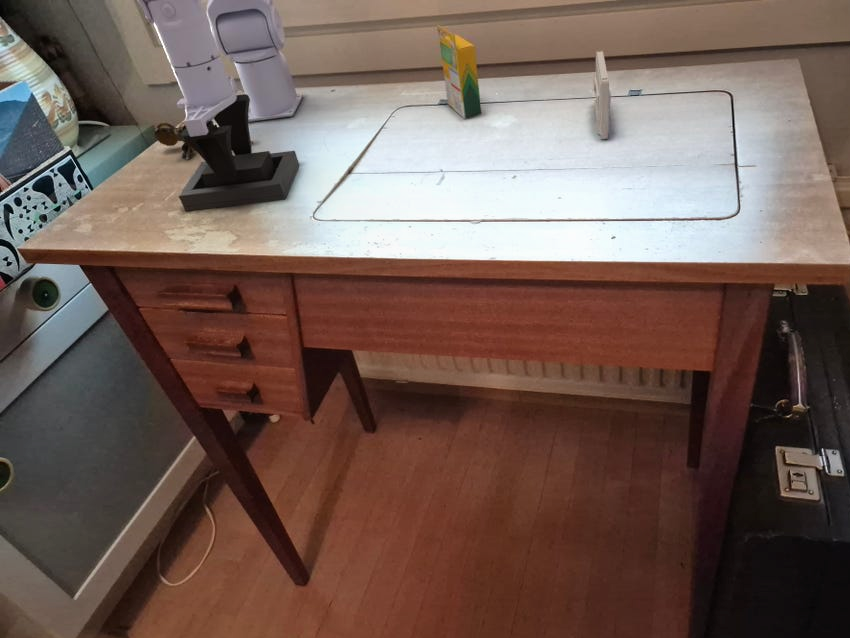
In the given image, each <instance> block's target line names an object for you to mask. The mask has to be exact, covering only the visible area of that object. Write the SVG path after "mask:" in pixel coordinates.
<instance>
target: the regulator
mask: <svg viewBox="0 0 850 638" xmlns="http://www.w3.org/2000/svg"><path fill="white" fill-rule="evenodd" d="M185 129H186V125H185V123H184V121H182V122H180V124H179V125H178V127H176V126H174V125H172V124H170V123H167V122H163V123H159V124H158V125H156V127H155V132H153V134H154V138H155V139H156V140H157V142H158V143H160V144H162V145H164V146H168V147H173V146H176V144H178V142H182V143H183V144H182V146H181V151H182V154H181V159H183V160H186V161H187V160H190V159H191V157H190V156H191V155H193V154H194V153H195V150H194V149H193V148H192V147H191V146H189V145H188V144H187V143H185V142H184V140H183V138H182V135H181V134H182V132H183V131H184V130H185ZM251 145H254V141H253V140H251Z"/></svg>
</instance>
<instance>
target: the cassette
mask: <svg viewBox="0 0 850 638" xmlns="http://www.w3.org/2000/svg"><path fill="white" fill-rule="evenodd" d="M595 52H596V53H595V73H594V74H593V91H594V96H595V99H594V110H593V111H594V117H595V118H594V119H595V125H596V126H595V127H596V133H597V135H598V136H600V140H608V139H609V135H610V134H611V133H610V114H609V113H610V111H611V103H612V94H611V93H612V92H611V91H610V80H609V76H608V71H607V65H606V59H605V55H604V50H603V49H602V50H596V51H595Z"/></svg>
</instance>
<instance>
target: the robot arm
mask: <svg viewBox="0 0 850 638" xmlns="http://www.w3.org/2000/svg"><path fill="white" fill-rule="evenodd" d="M136 1H137V3H138V4H139V6H140V8H141V9H142V11H143V13H144V16H145V18H146V20H147V21H148V23H150V24H153V25H154V28H155V30H156V32H157V36H158V37H159V40H160V42H161V45H162V47H163V50H164V53H165V54H166V57H167V60H168V62H169V65H170V66H171V67H170V68H171V69H172V71H173V74H174V76H175V79H176V81H177V83H178V86H179V89H180V92H181V93H182V95H183V97H182V98H180V99H179V100H178V101H177V102H176V106H177V108H178V109H180V110H185V119H183V122H184V123H185V125H186V129H185V130H184V131H183V132H182V134H181V135H182V138H183V140H184V142H185V143H187V144H188V145H189V146H191V147H192V148H193V149H194V152H196V153H197V154H198V155H199V156H200V157H201V158H202V160H204V162H206V163H207V164H208V165H209V167H210V168H211V170H212V171H213V172H214V174H215V175H216V176H217V178H218V179H219V180H220V182H221V183H222V182H230V181H236V180H237V170H236V166H235V162H234V158H233V154H234V155H241V154H249V153H253V152H252V151H253V150H252V149H253V148H252V143H251V141H252V140H251V134H250V126H249V123H250V122H257V121H265V120H273V119H280V118H289V117H293V116H294V114H295V113H296V110H297V108H298V106H299V105H300V102H301V101H302V98H303V97H304V95H303V93H302V92H301V93H300V92H299V93H297V90H296V88H295V84H294V80H293V77H292V74H291V70H290V66H289V63H288V60H287V58H286V56H285V55H284V54H283V52H281V50H282V49H283V48H284V45H285V43H286V36H285V30H284V26H283V22H282V18H281V16H280V13H279V11H278V9H277V7H276V4H275V2H274V0H208V2H207V4H206V12H205V9H204V6H203V3H202V1H201V0H136ZM221 55H223V57H225V58H228V60H229V62H230V63H234V66H235V69H236V72H237V74H238V78H239V80H240V83H241V86H242V89H243V91H244V94H237V93H238V92H239V90H238V86H237V84H236V80H235V77H234V76H233V75H231V76H228V73H227V70H226V67H225V64H224V62H223V59H222V56H221ZM214 122H215V124H214ZM184 142H183V143H184Z"/></svg>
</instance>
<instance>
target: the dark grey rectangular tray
mask: <svg viewBox="0 0 850 638" xmlns="http://www.w3.org/2000/svg"><path fill="white" fill-rule="evenodd" d="M270 155H271V157H272V160H273V163H274V166H275V169H276V172H275V174H274V176H273V178H272V180H269V181H261V182H253V183H245V184H236V185H228V186H220V187H212V188H206V186H205V184H204V182H203V179H202V177H201V173H202V172H203V170H204V169H205V167H206V166H207V163H206V161H201V162H200V163H199V165H198V166H197V168H196V170H195V171H194V172H193V174H192V175H191V176H190V178H189V180H188V181H187V183H186V184H185V186H184V187H183V188H182V190H181V191H180V193H179V195H178V198H179V200H180V202H181V204H182V207H183V209H184V212H190V211H199V210H207V209H215V208H216V209H217V208H224V207H231V206H232V207H233V206H240V205H249V204H258V203H266V202H267V203H268V202H274V201H283V200H286V199H287V196H288V193H289V191H290V189H291V187H292V184H293V182H294V180H295V177H296V175H297V172H298V170H299V168H300V162H299V159H298V155H297V153H296V150H289V151H279V152H272V153H271V152H270Z"/></svg>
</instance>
